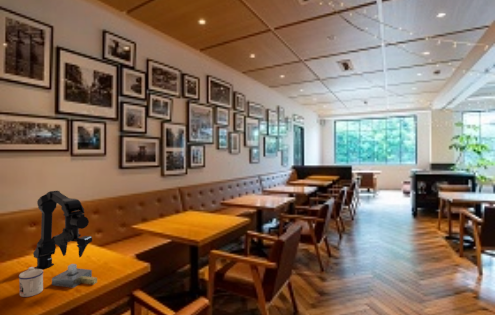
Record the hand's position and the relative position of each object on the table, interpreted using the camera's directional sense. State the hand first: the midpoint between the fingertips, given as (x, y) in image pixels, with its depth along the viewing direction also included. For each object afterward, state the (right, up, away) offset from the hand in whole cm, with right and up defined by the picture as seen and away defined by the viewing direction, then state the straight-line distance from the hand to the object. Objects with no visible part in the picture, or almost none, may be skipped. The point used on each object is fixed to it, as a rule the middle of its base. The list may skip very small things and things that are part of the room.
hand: (72, 256), depth 143 cm
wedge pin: (0, -12, 0) cm, 12 cm away
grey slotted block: (+3, -12, 0) cm, 13 cm away
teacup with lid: (-11, -13, -12) cm, 21 cm away
